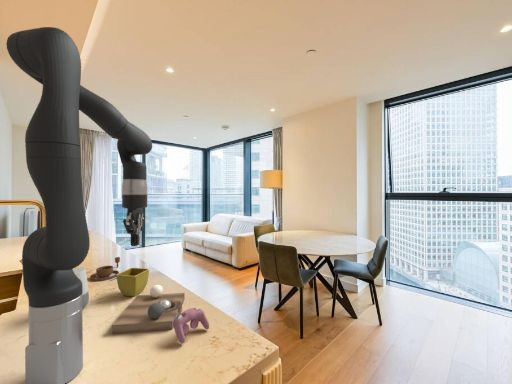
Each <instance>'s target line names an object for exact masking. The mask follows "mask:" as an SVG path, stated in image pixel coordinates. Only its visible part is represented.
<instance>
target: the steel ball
mask: <svg viewBox="0 0 512 384" xmlns="http://www.w3.org/2000/svg"><path fill="white" fill-rule="evenodd" d="M160 304H161V305H162V306H163V310H168V309H171V302H170V301H169V300H162V301H161V302H160Z"/></svg>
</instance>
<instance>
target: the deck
mask: <svg viewBox="0 0 512 384" xmlns="http://www.w3.org/2000/svg"><path fill="white" fill-rule="evenodd" d="M185 297H186V296H185V292H177V293H176V292H175V293H174V292H173V293H162V295H161V296H159V297H157V298H154V297H152V296H151V295H150V294H138V295H136V296H135V297H134V299H133V300H132V301H131V302H130V303H129V305H127V307H126V308H125V309H124V310H123V311H122V313H120V315H119V316H118V317H117V318H116V320H115V321H114V322H113V323H112V324H111V334H113V335H114V334H125V333H140V332H155V331H156V332H157V331H166V330H167V331H168V330H169V331H171V330H173V329H174V328H173V321H174V319H175V318H176V317H177V316H178V315H180V314H181V313H182V312H183V304H184V302H185ZM162 300H169V301H170V302H171V309H168V310H163V313H162V315H161V316H160V317H159V318H156V319H152V318H150V317H149V316H148V308H149V307H150V306H151V305H152V304H153V303H160V302H161V301H162Z"/></svg>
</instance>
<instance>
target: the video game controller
mask: <svg viewBox="0 0 512 384" xmlns="http://www.w3.org/2000/svg"><path fill="white" fill-rule="evenodd" d="M188 323H189V324H188ZM199 323H200V324H201V325H202V327H203V328H204V329H206V330H209V328H210V322H209V320H208V317H207V316H206V314H205V312H204V310H203V309H202V308H199V307H191V308H189V309H186V310H184V311H182V312H181V314H180V315H178V316H177V317H176V318H175V319H174V321H173V329H174V332H175V335H176V338H177V341H179V343H180V344H181V345H182V344H185V341H186V338H185V335H186V334H188V333H189V332H190V329H193V330H194V329H197V328H198V327H199Z"/></svg>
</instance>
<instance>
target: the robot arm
mask: <svg viewBox="0 0 512 384" xmlns="http://www.w3.org/2000/svg"><path fill="white" fill-rule="evenodd" d="M5 43H6V49H7V50H6V51H7V52H8V55H9V56H10V58H11V60H12V61H13V63H14V64H15V65H16V66H17V67H18V68H19V70H22V72H24V73H25V74H26V75H28V76H29V77H30V78H31V79H33V80H34V81H36V82H37V83H39V84H41V85H42V91H41V96H40V100H39V102H38V103H37V106H36V108H35V110H34V112H33V115H32V116H31V118H30V120H29V122H28V125H27V128H26V130H25V136H24V143H25V158H26V159H25V161H26V168H27V170H28V172H29V173H28V174H29V176H30V178H31V180H32V182H33V184H34V185H35V188H36V190H37V192H38V194H39V196H40V199H41V201H42V204H43V208H44V214H45V226H41V227H40V228H37V229H35V230H34V231H32V232H31V233H30V234H29V235H28V236H27V237H26V239H25V242H24V244H23V246H22V252H21V253H22V254H21V262H22V263H21V265H22V279H23V281H22V283H23V288H24V289H23V290H24V291H25V294H26V295H27V298H28V344H27V345H26V346H25V348H24V351H25V352H24V354H25V355H24V359H25V367H24V368H25V369H24V370H25V373H24V374H25V381H24V382H25V384H65V383H66V384H67V383H69V382H71V381H72V380H73V379H74V378H76V377H77V376H78V375H79V374H80V373H81V372H82V370H83V367H84V348H83V347H84V344H83V343H84V341H83V340H84V337H83V335H84V332H83V331H84V330H83V329H84V328H83V327H84V326H83V324H84V323H83V309H82V306H83V300H82V293H83V287H82V282H81V280H80V279H79V278H78V277H77V276H76V275H75V273H74V272H73V269H76V268H78V267H80V265H81V264H82V263H83V262H84V261H85V260H86V258H87V256H88V254H89V251H90V243H91V242H90V234H89V228H88V223H87V218H86V212H85V205H84V191H83V190H84V189H83V175H82V147H81V137H80V136H81V135H80V112H81V113H82V114H84V115H85V116H87V118H89V119H90V120H91V121H92V122H94V123H95V124H96V125H97V126H98V127H99V128H100V129H102V131H103V132H105V133H106V134H107V135H108V136H109V137H111V138H112V139H116V141H117V142H116V147H117V149H116V150H117V152H118V155H119V159H120V163H121V166H122V184H121V185H122V186H121V193H122V194H121V199H122V200H121V207H122V209H127V212H126V217H125V218H123V221H122V223H123V226H124V229H125V232H126V233H127V234H129V235H130V246H131V247H137V246H140V234H141V232H142V231H143V228H144V224H145V219H146V215H144V213H143V208H144V209H145V208H147V207H148V183H147V165H146V163H144V162H141V161H137V159H136V156H139V155H141V156H142V155H143V156H144V155H148V154H149V153H150V152H151V151H152V149H153V142H152V139H151V138H150V136H149V135H148V134H147V133H146V132H145V131H144V130H143V129H142V128H139V127H138V126H137V125H135V124H134V123H132V122H130V121H128V119H127V118H126V117H125V116H124V115H123V114H122V113H121V112H120V110H118V108H117V107H115V105H113V104H112V103H111V102H109V101H108V100H106V99H105V98H103V97H101V96H100V95H98V94H96V93H94V91H91V90H89V89H88V88H85V86H83V85H82V84H81V79H82V78H81V77H82V59H81V56H80V55H81V54H80V52H79V49H78V48H79V47H78V46H77V45H76V42H75V41H74V40H73V37H71V36H70V35H69V34H68V33H67V32H66V31H64V30H63V29H60V28H58V27H53V26H52V27H51V26H44V27H43V26H42V27H38V28H37V27H35V28H29V29H23V30H19V31H16V32H14V33H11V34H10V35H8V37H7V39H6V42H5Z"/></svg>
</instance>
